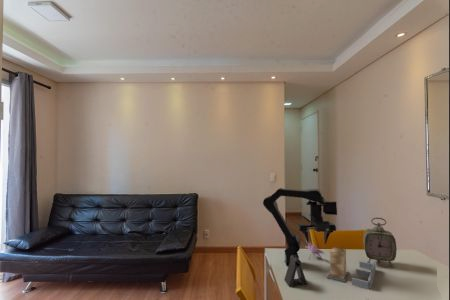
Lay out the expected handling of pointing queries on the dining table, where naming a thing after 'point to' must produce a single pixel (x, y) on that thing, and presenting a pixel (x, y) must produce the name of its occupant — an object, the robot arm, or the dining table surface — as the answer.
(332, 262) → the oak block
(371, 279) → the shelf
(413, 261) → the dining table surface
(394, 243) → the tabletop clock
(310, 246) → the lily
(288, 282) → the phone stand
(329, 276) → the rubber mat
